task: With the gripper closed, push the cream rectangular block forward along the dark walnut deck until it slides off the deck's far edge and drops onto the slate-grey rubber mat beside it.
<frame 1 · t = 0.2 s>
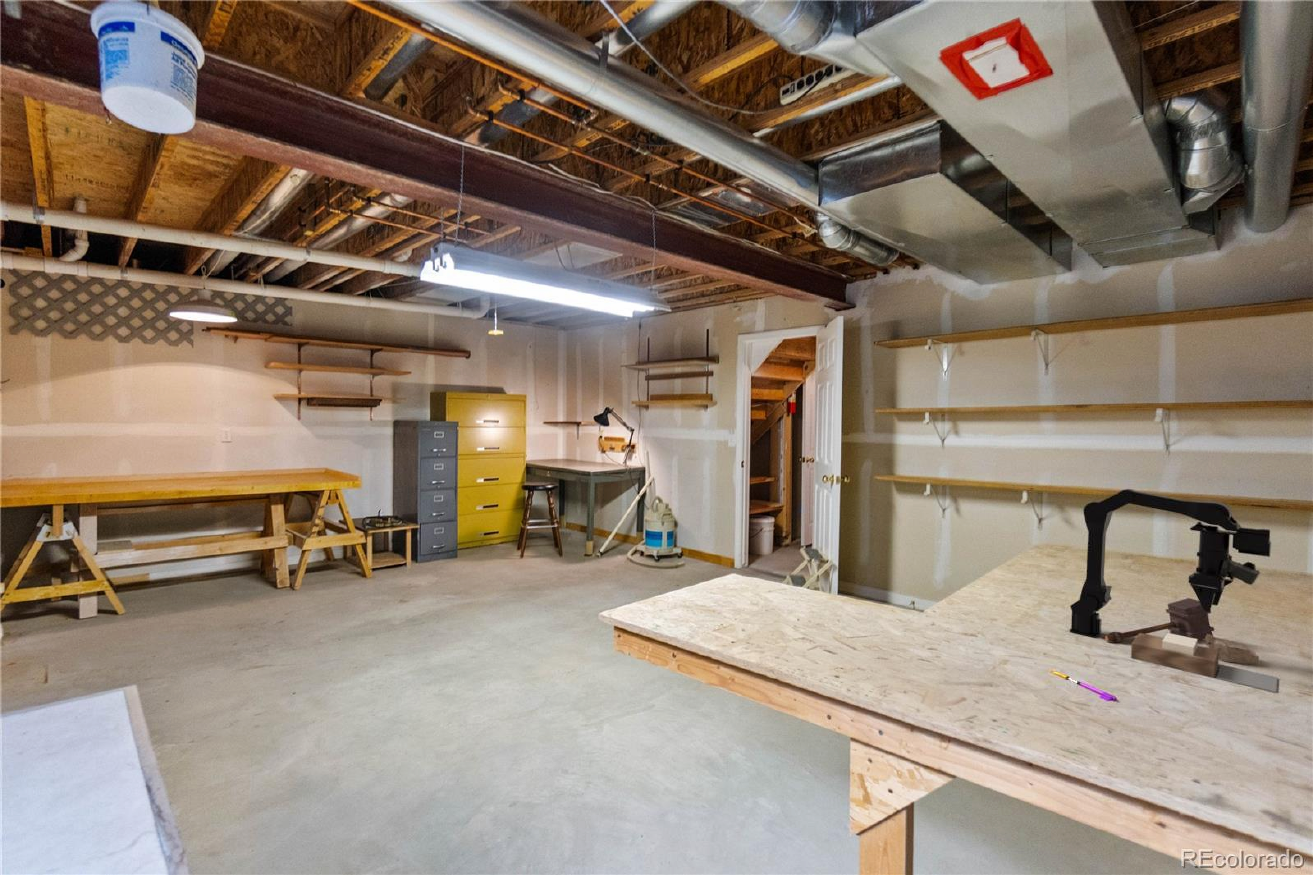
hand: (1210, 608, 153), 14 cm above the workbench, fingers open, 9 cm apart
mat: (1247, 678, 143), on the workbench
stone: (1226, 658, 156), on the workbench
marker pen: (1079, 688, 137), on the workbench
cream rectangular block: (1179, 647, 152), point 4 cm above the workbench, touching deck
deck: (1174, 661, 153), on the workbench
hammer: (1154, 641, 169), on the workbench
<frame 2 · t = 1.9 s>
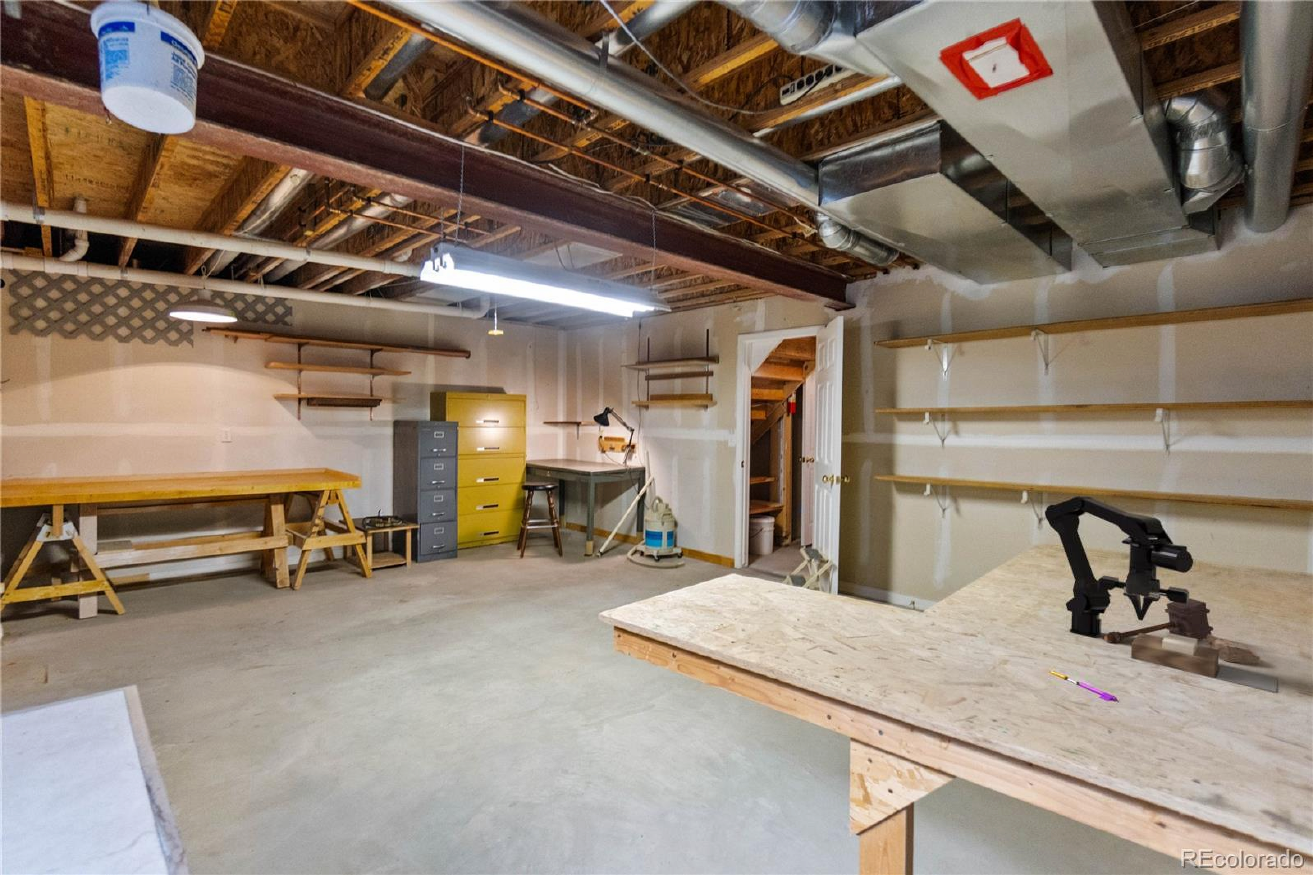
hand: (1140, 620, 158), 9 cm above the workbench, fingers closed
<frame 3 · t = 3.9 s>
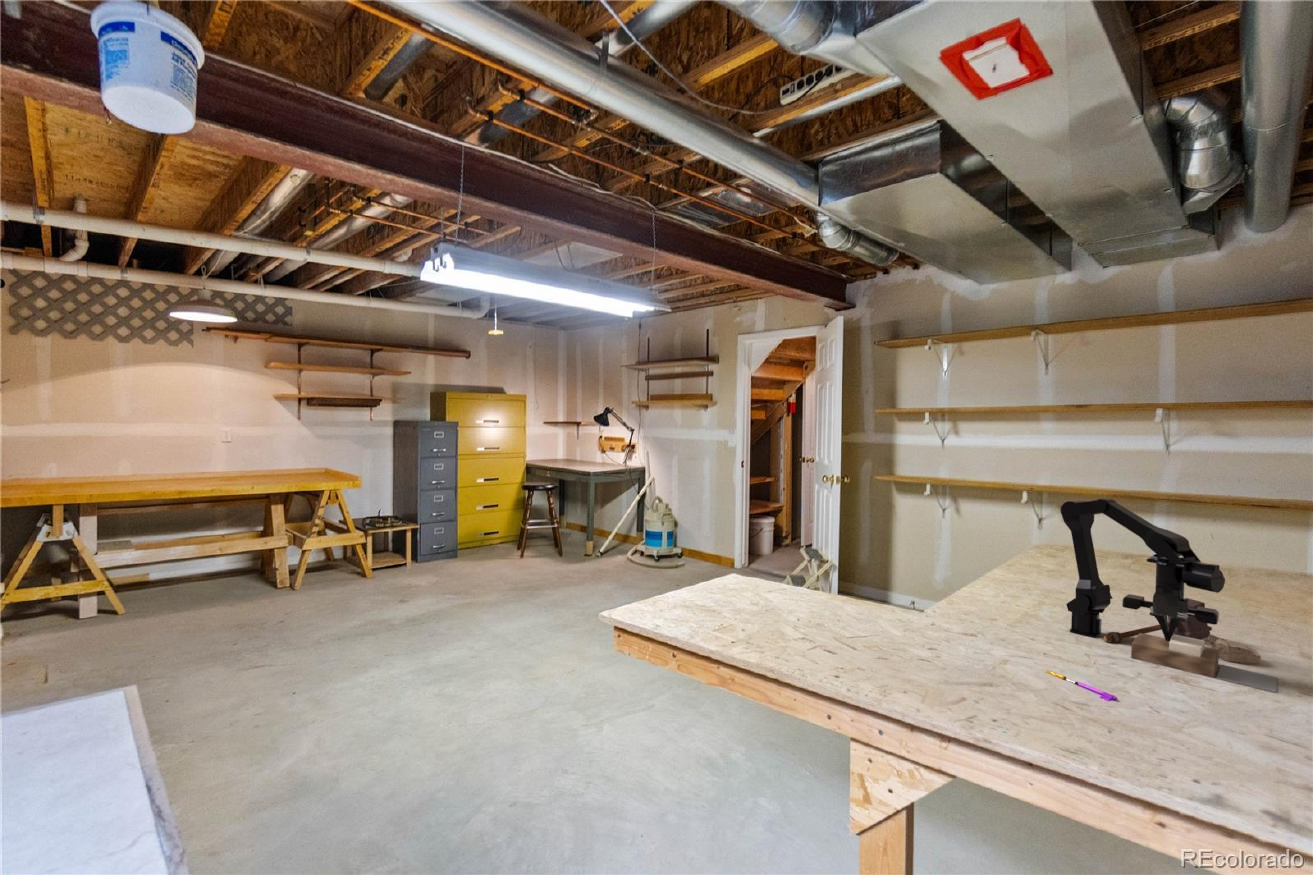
hand: (1168, 640, 154), 5 cm above the workbench, fingers closed
cream rectangular block: (1186, 649, 151), point 4 cm above the workbench, touching deck, gripper
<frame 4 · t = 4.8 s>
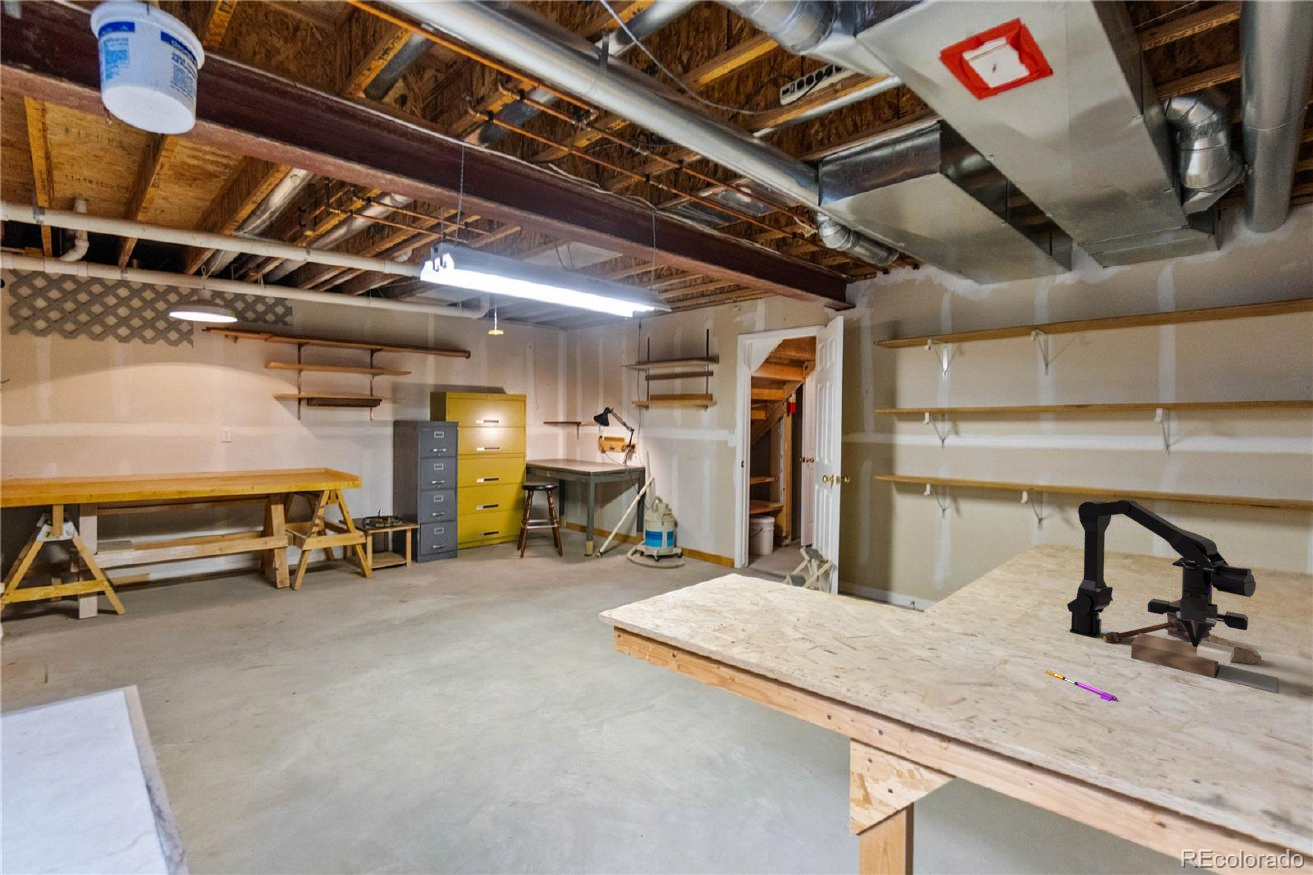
hand: (1195, 646, 150), 5 cm above the workbench, fingers closed
cream rectangular block: (1215, 655, 147), point 4 cm above the workbench, touching deck
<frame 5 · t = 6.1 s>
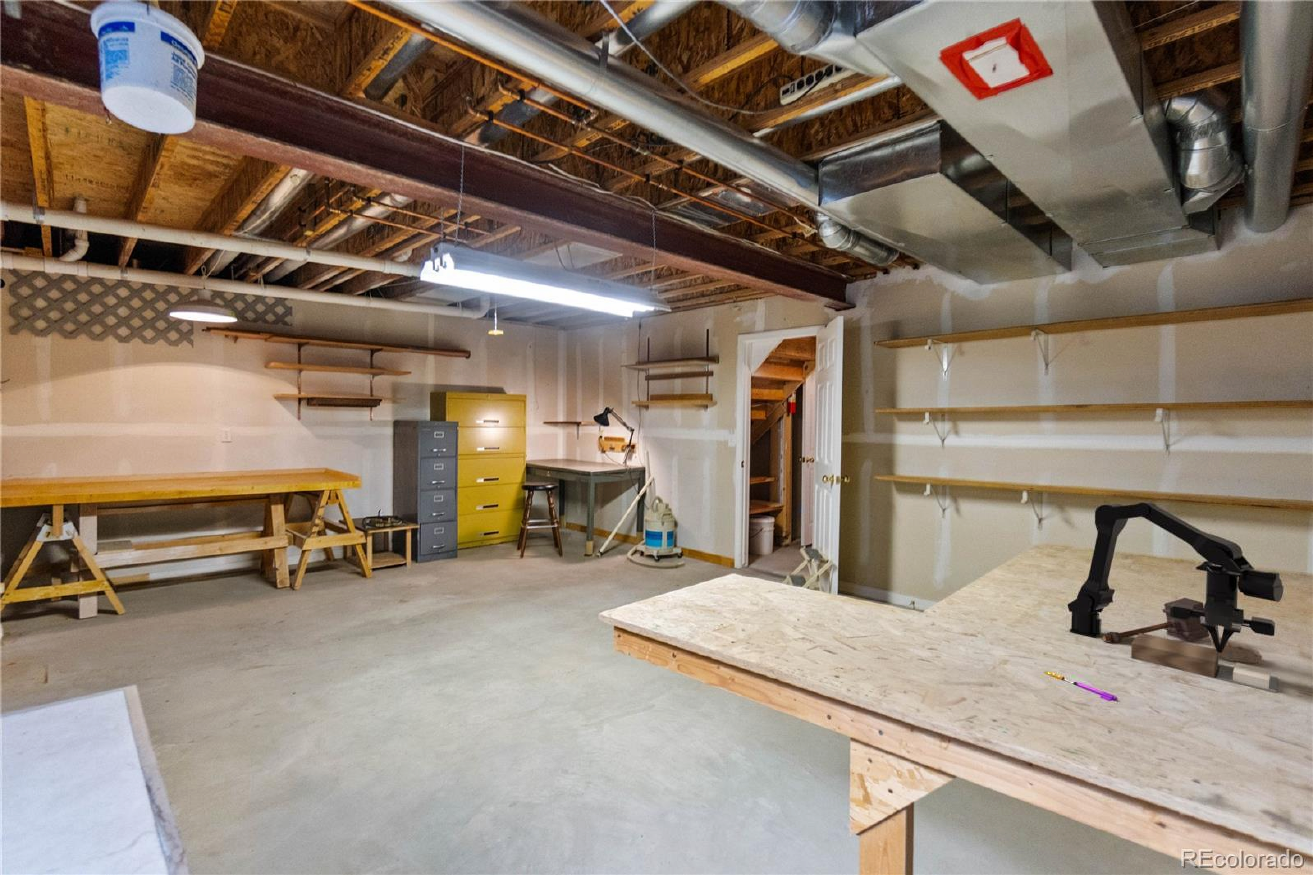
hand: (1219, 652, 147), 5 cm above the workbench, fingers closed
cream rectangular block: (1252, 671, 142), point 2 cm above the workbench, tilted 180°, touching mat
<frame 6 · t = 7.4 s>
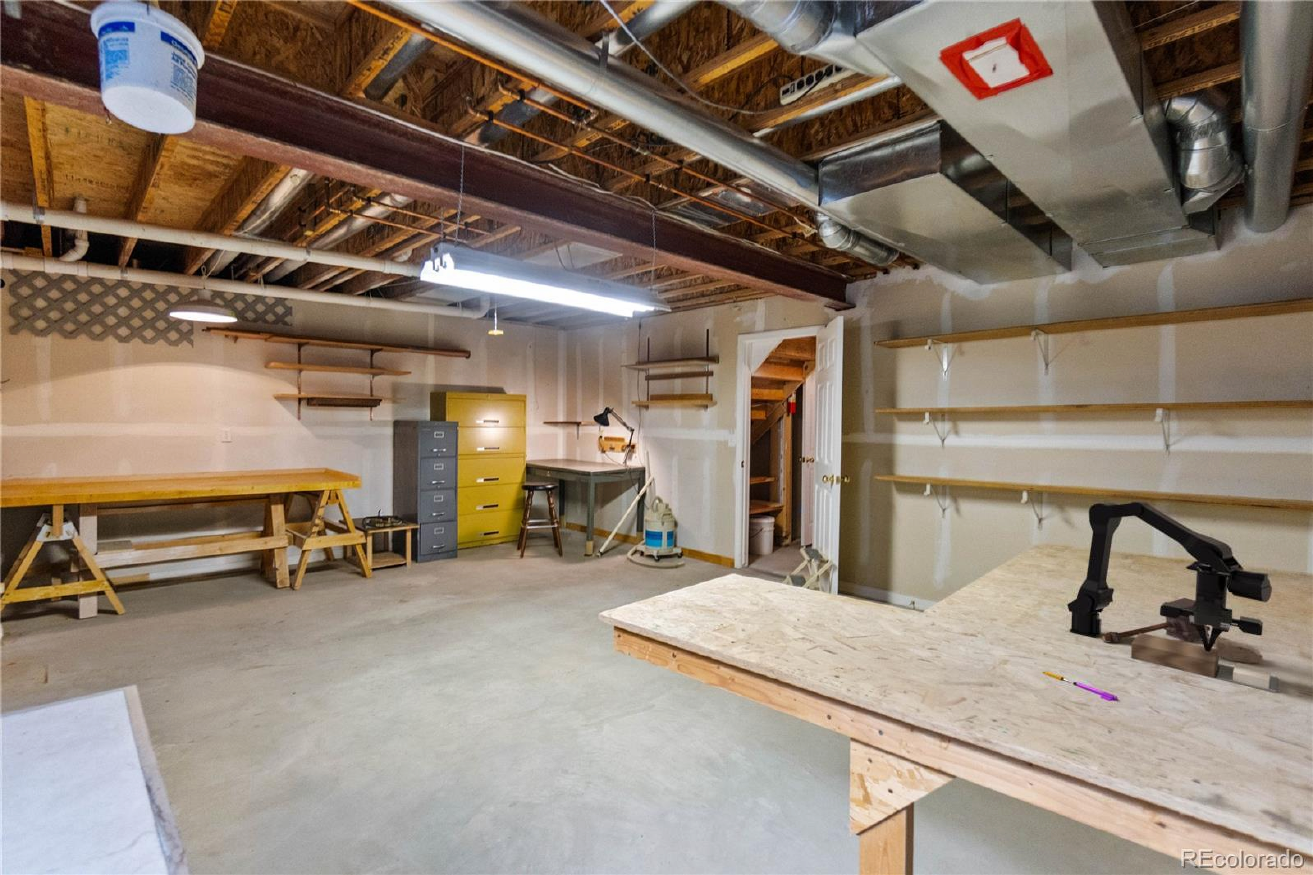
hand: (1207, 651, 148), 5 cm above the workbench, fingers closed
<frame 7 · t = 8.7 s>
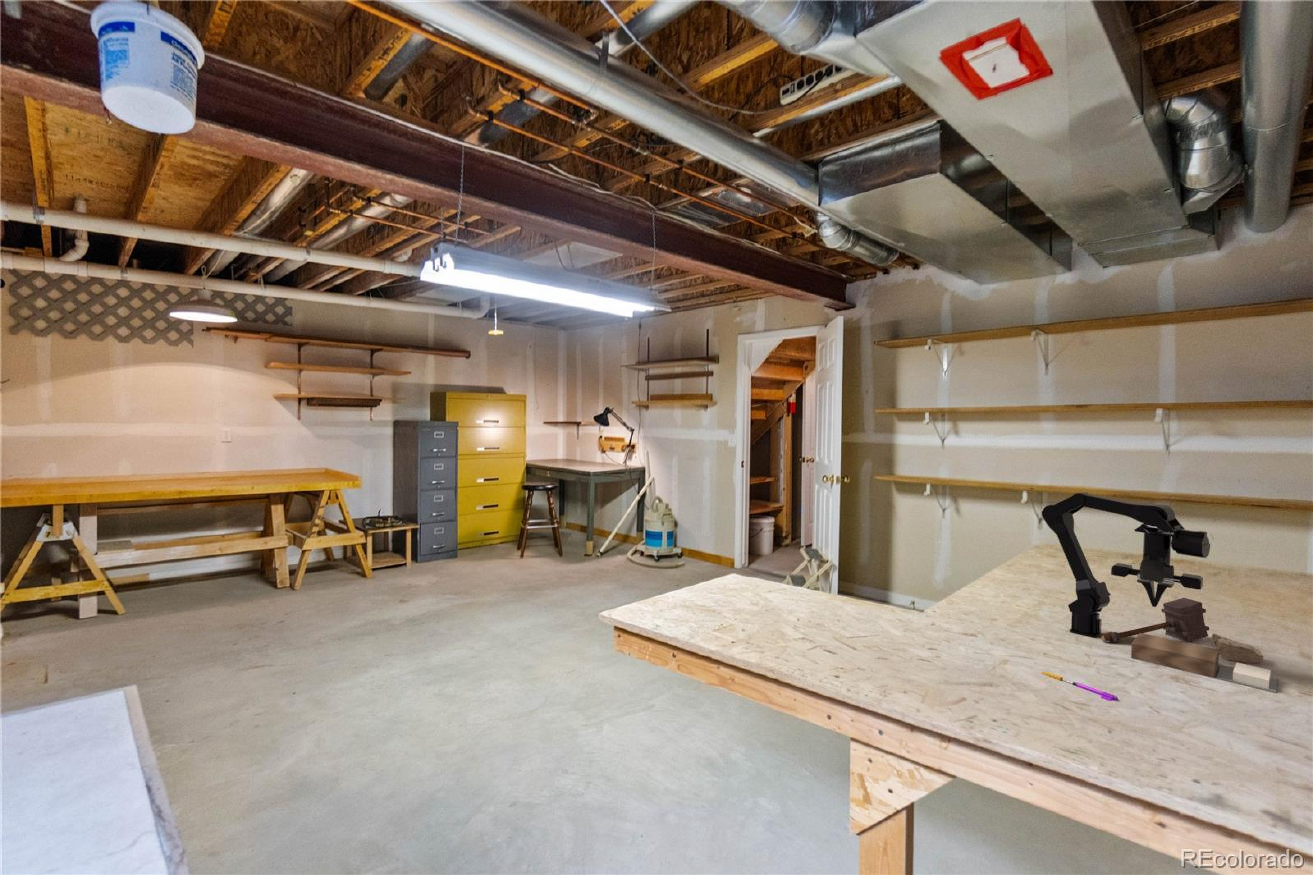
hand: (1154, 606, 160), 12 cm above the workbench, fingers closed
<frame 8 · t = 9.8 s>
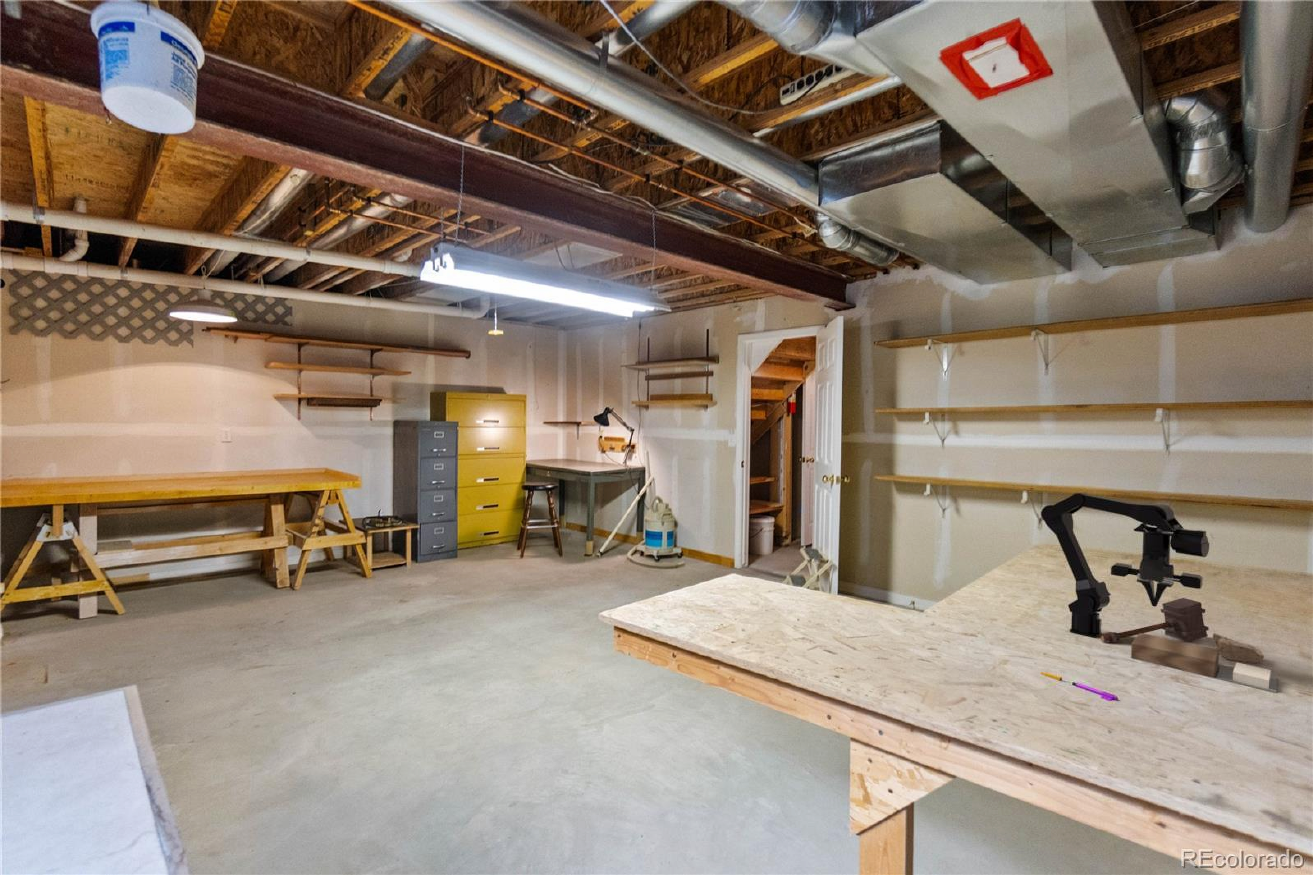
hand: (1154, 606, 160), 13 cm above the workbench, fingers closed
at the end: cream rectangular block inside the target area (0.8 cm from its centre), point 2.3 cm above the workbench; cream rectangular block point 2.3 cm above the workbench; cream rectangular block moved 13.4 cm from its start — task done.
